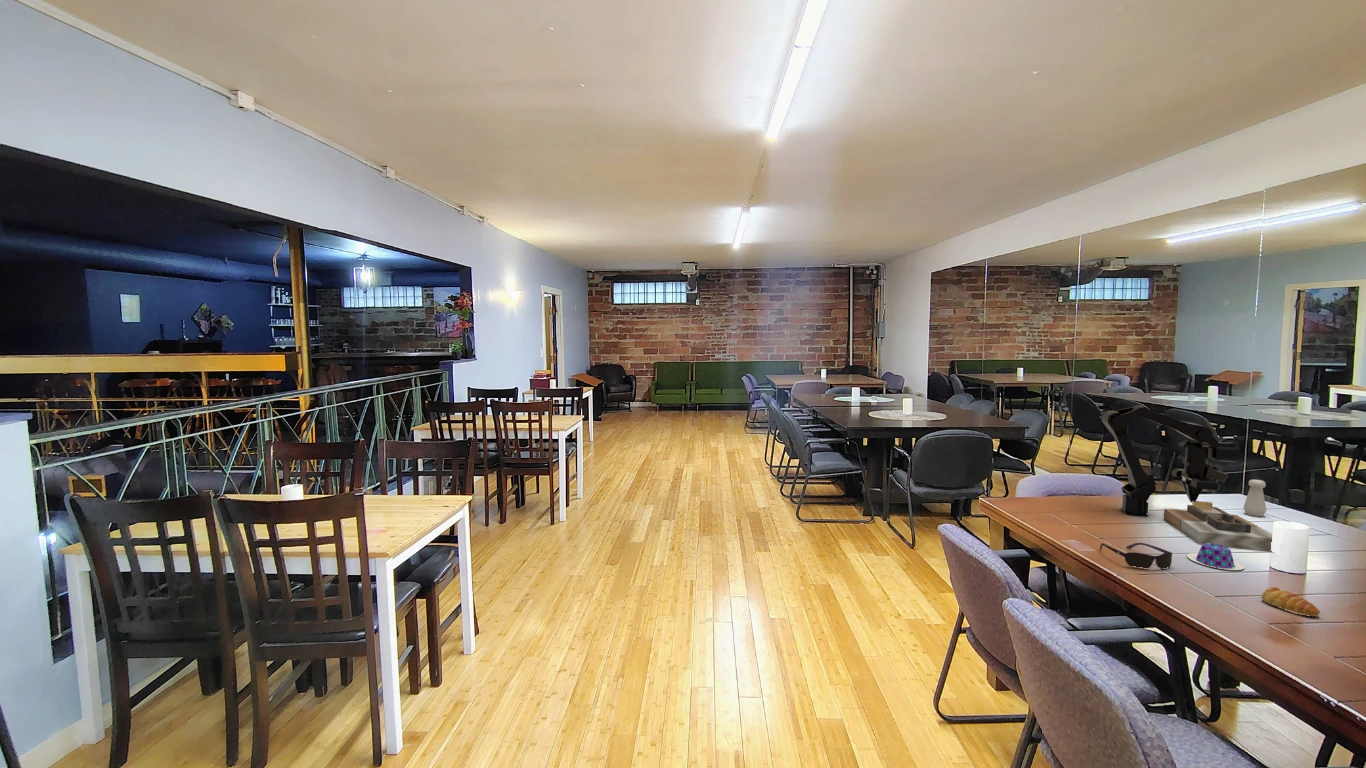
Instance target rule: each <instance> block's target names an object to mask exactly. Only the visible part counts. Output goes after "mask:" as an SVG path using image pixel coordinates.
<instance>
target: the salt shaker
mask: <svg viewBox="0 0 1366 768" xmlns="http://www.w3.org/2000/svg"><path fill="white" fill-rule="evenodd" d="M1266 485H1267V484H1266V482H1265V481H1264V480H1262V479H1250V480H1249V481H1248V486H1249V489H1248V492H1247V496H1246V498H1245V502H1244V503H1243V510H1244V513H1245V514H1246V515H1248V516H1250V515H1251V516H1252V517H1257V518H1261V517H1264V515H1265V514H1266V513H1267V507H1266V501H1265V499H1266V498H1265V494H1264V490H1263V489H1264V488H1266ZM1251 516H1250V517H1251Z"/></svg>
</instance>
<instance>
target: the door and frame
mask: <svg viewBox="0 0 1366 768" xmlns="http://www.w3.org/2000/svg"><path fill="white" fill-rule="evenodd" d="M1212 508H1214V509H1216V510H1217V511H1219V512H1221V513H1223V520H1222V519H1216V518H1214V517H1211V516H1208V518H1207V514H1206V513H1205V512H1203V511H1201V510H1199V509H1198V508H1196V507H1194V506H1192V504H1187V508H1186V510H1183V509H1182V510H1181V509H1170V508H1164V511H1163V521H1165V522H1167V523H1168V524H1169V525H1171V526H1172V527H1173V528H1175V529H1176V530H1178V531H1180V532H1181V533H1183V534H1184V535H1185V536H1187V537H1189V538H1190V539H1191V540H1192V541H1194V542H1196V543H1197V544H1199V545H1202V544H1204V543H1213V544H1219V545H1222V546H1226V547H1227V548H1233V547H1234V548H1233V549H1235V548H1237V549H1243V548H1245V550H1246V549H1247V550H1252V551H1253V550H1256V551H1261V552H1262V551H1265V552H1271V551H1270V550H1271V542H1272V534H1273V533H1272V532H1270V531H1268V530H1267V529H1265V528H1262V527H1261V526H1258V525H1257V524H1255V523H1253V522H1250V521H1249V520H1247V519H1245V518H1244V517H1242V516H1239V515H1238V514H1230V513H1228V512H1226V511H1225V510H1224V509H1223V510H1222V509H1221V508H1219V507H1217V506H1212Z"/></svg>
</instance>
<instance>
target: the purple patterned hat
mask: <svg viewBox="0 0 1366 768" xmlns="http://www.w3.org/2000/svg"><path fill="white" fill-rule="evenodd" d="M1232 554H1233V553H1232V550H1231V549H1230V547H1226V546H1222V545H1219V544H1213V543H1204V544H1201V546H1200V548H1199V550H1198V552H1191V553H1188V554H1187V555H1186V556H1187V558H1188V559H1190V561H1193V562H1195V563H1197V564H1200V565H1204V566H1206V567H1211V568H1216V567H1217V568H1216V569H1220V570H1227V571H1240V570H1244V569H1245V565H1244V564H1242V563H1241V562H1238V561H1237V560H1235V559H1234V558H1233V555H1232ZM1205 564H1206V565H1205ZM1234 564H1235V565H1236V566H1237V567H1236V568H1235V565H1234ZM1209 565H1210V566H1209ZM1230 568H1231V569H1230ZM1233 568H1235V569H1233Z"/></svg>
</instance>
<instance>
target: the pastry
mask: <svg viewBox="0 0 1366 768" xmlns="http://www.w3.org/2000/svg"><path fill="white" fill-rule="evenodd" d="M1260 599H1262V601H1264V602H1265V603H1266V602H1267V603H1268V604H1267V603H1266V604H1267V605H1272V606H1273V605H1274V606H1277V607H1281V608H1283V609H1287V610H1291V611H1294V612H1297V613H1301V614H1305V615H1309V616H1315V617H1319V615H1320V613H1321V611H1320V610H1319V609H1318V608H1317V607H1316V606H1315V605H1314V604H1313V603H1311V602H1310V601H1308V600H1307V599H1305V598H1303V597H1301V596H1300V595H1298V594H1295V593H1292V592H1291V591H1288V590H1282V589H1280V588H1278V587H1276V586H1270V587H1268V588H1266V589H1265V590H1264V591H1263V592H1262V595H1261V596H1260ZM1274 606H1273V607H1274Z"/></svg>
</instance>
